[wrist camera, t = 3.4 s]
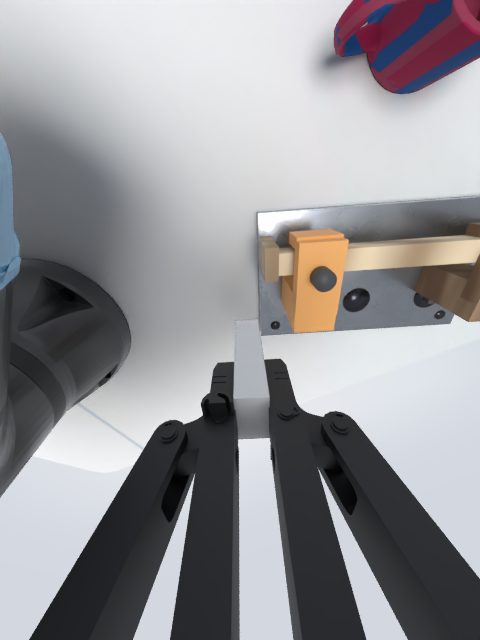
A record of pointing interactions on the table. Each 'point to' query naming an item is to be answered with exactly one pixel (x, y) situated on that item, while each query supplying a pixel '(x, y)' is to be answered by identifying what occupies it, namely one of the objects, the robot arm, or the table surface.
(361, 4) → the mug
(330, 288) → the slider leg
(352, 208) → the flange plate
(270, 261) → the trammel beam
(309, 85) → the table surface
